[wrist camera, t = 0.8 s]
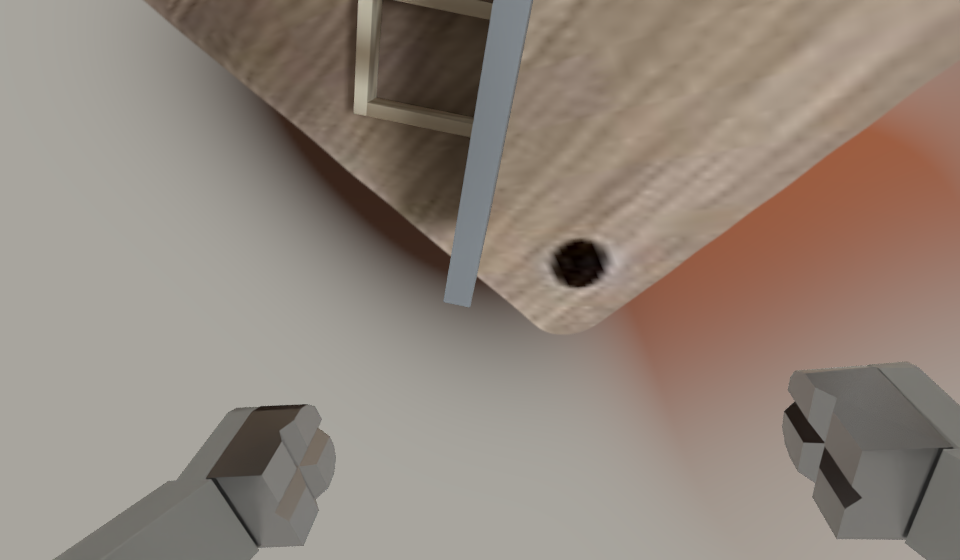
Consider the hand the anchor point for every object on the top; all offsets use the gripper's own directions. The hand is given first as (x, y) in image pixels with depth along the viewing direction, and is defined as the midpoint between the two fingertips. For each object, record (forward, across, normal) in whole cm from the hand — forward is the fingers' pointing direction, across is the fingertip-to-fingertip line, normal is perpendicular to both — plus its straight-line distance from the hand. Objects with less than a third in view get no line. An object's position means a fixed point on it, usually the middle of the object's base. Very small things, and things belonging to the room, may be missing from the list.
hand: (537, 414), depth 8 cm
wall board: (+41, +2, -1) cm, 41 cm away
